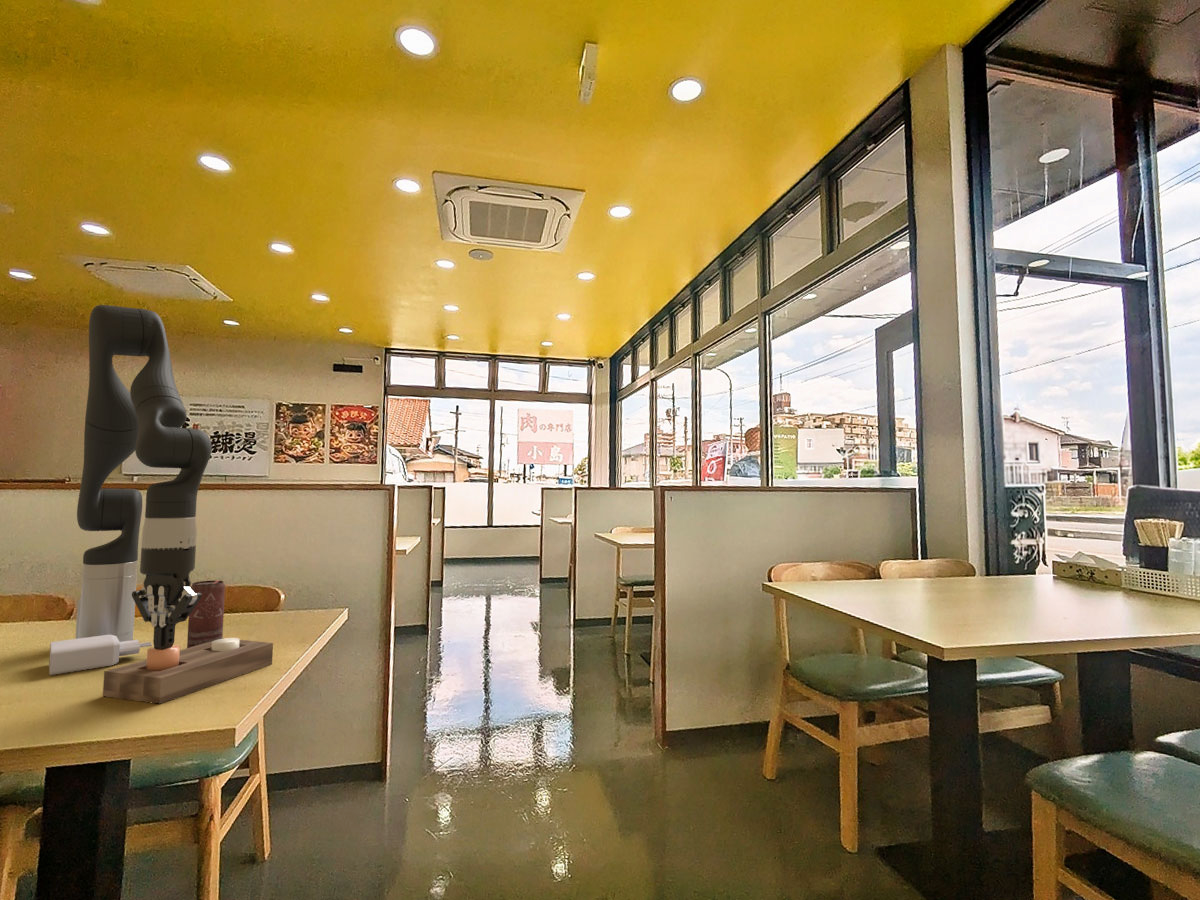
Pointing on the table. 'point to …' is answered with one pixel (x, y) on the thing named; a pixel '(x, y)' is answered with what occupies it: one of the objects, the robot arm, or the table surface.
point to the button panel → (186, 672)
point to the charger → (89, 653)
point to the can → (207, 613)
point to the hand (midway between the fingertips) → (163, 648)
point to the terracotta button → (162, 658)
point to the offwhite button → (225, 644)
